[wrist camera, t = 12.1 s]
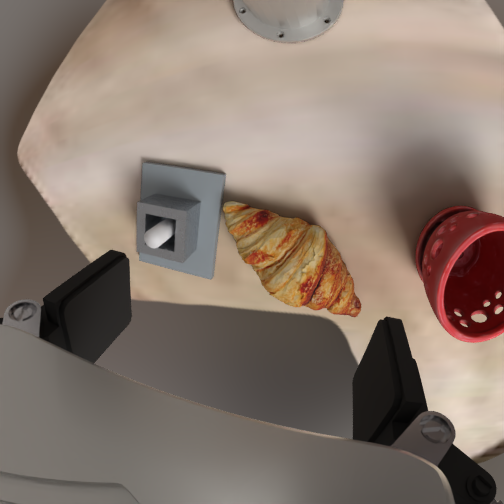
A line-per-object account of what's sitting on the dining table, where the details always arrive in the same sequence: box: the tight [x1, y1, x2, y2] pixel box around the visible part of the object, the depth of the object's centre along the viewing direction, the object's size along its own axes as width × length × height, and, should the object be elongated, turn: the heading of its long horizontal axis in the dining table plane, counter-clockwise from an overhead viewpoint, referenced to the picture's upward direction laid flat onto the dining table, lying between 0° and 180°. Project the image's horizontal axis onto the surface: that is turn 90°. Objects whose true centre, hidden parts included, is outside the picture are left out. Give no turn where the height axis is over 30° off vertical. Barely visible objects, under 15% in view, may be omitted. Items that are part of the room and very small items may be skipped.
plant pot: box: [416, 206, 504, 343], centre depth 30 cm, size 13×13×12 cm
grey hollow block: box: [137, 194, 201, 263], centre depth 39 cm, size 6×6×4 cm
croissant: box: [223, 201, 361, 317], centre depth 38 cm, size 21×10×8 cm, turn 55°
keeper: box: [139, 162, 226, 279], centre depth 39 cm, size 14×11×8 cm
